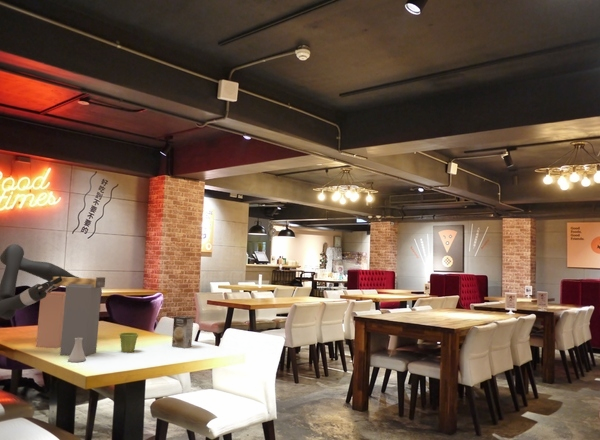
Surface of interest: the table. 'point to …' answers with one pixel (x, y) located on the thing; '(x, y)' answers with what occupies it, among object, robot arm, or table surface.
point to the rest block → (51, 320)
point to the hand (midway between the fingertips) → (63, 278)
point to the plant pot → (128, 341)
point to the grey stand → (80, 318)
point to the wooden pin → (82, 281)
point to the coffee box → (182, 331)
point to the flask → (77, 352)
